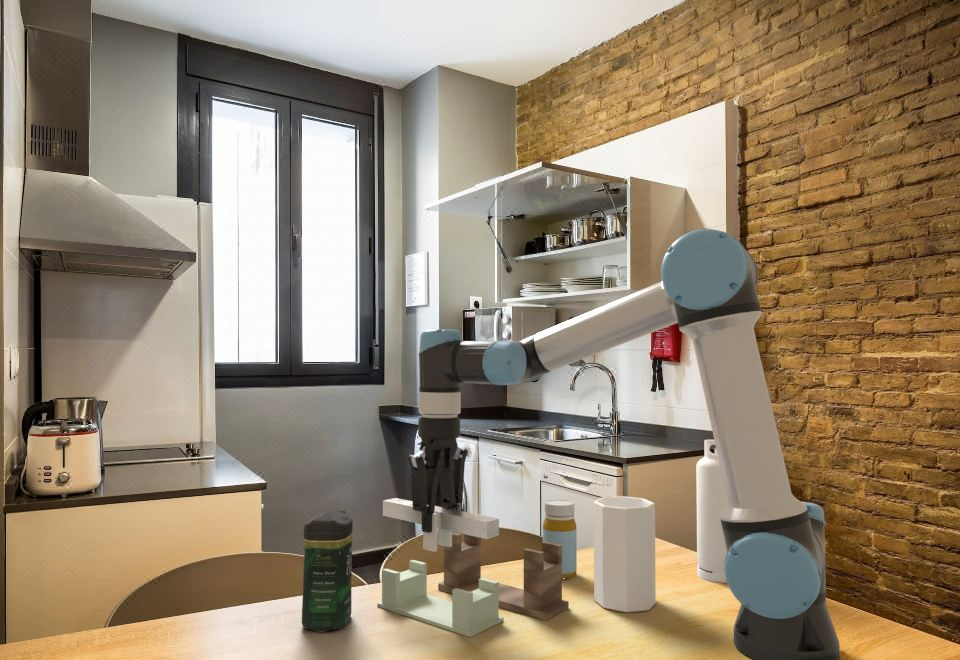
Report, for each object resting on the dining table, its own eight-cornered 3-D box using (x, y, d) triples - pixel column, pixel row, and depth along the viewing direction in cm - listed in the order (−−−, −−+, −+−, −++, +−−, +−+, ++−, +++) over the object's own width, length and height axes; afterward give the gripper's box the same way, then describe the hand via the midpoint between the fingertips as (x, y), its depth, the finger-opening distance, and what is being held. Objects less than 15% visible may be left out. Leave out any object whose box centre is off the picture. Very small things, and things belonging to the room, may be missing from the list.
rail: (498, 535, 116) (499, 518, 116) (487, 539, 114) (487, 522, 114) (395, 512, 132) (395, 497, 132) (382, 515, 129) (383, 500, 129)
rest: (503, 620, 118) (503, 582, 119) (470, 637, 111) (470, 596, 112) (412, 593, 132) (412, 558, 133) (377, 606, 125) (377, 569, 126)
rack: (568, 608, 125) (568, 545, 125) (545, 620, 119) (545, 554, 119) (463, 579, 140) (463, 524, 141) (438, 589, 134) (438, 531, 135)
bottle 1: (536, 572, 145) (536, 500, 146) (565, 568, 148) (564, 497, 149) (553, 582, 139) (553, 507, 140) (583, 577, 142) (582, 504, 143)
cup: (627, 618, 120) (626, 511, 121) (581, 599, 129) (581, 500, 130) (668, 604, 126) (667, 503, 127) (622, 588, 135) (622, 493, 136)
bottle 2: (697, 580, 140) (696, 442, 141) (697, 568, 148) (695, 438, 149) (739, 584, 138) (738, 443, 139) (737, 572, 146) (735, 439, 147)
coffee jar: (344, 633, 113) (345, 519, 114) (296, 633, 113) (298, 519, 114) (356, 612, 123) (357, 506, 123) (312, 611, 123) (313, 506, 123)
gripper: (453, 411, 132) (451, 534, 131) (391, 417, 119) (389, 553, 118) (484, 414, 127) (482, 542, 126) (423, 420, 115) (421, 562, 114)
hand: (437, 547), depth 122 cm, fingers closed on rail, 3 cm apart
